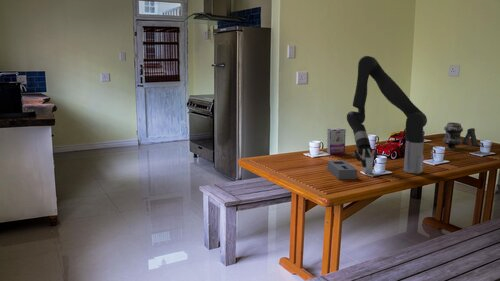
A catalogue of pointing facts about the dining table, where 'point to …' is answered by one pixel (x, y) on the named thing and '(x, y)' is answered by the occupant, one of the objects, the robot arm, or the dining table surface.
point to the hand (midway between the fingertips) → (369, 166)
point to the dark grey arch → (473, 138)
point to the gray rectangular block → (368, 164)
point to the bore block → (342, 169)
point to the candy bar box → (336, 141)
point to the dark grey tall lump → (452, 135)
